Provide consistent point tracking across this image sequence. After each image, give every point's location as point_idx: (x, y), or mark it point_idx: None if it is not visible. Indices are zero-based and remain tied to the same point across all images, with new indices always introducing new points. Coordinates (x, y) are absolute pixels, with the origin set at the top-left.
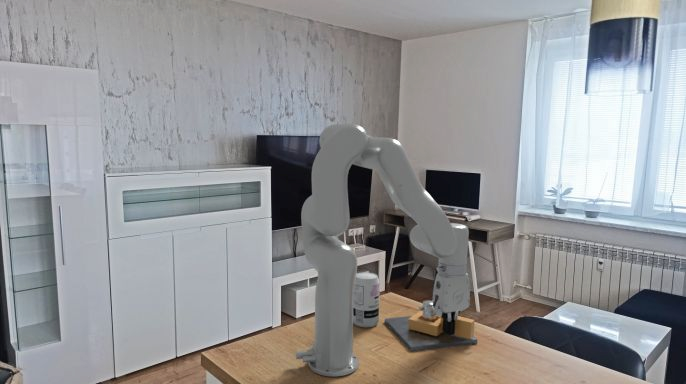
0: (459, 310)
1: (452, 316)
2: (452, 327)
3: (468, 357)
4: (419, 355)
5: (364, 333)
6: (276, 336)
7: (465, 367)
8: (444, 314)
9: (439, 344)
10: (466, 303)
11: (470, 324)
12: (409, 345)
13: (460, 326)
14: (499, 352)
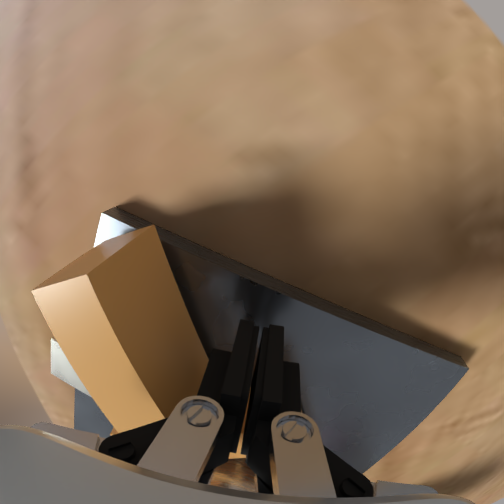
0: (172, 477)
1: (217, 444)
2: (260, 359)
3: (320, 122)
4: (474, 313)
5: None
6: (499, 494)
7: (432, 75)
8: (357, 491)
9: (352, 321)
10: (7, 490)
11: (101, 274)
12: (456, 383)
13: (157, 336)
14: (109, 60)
